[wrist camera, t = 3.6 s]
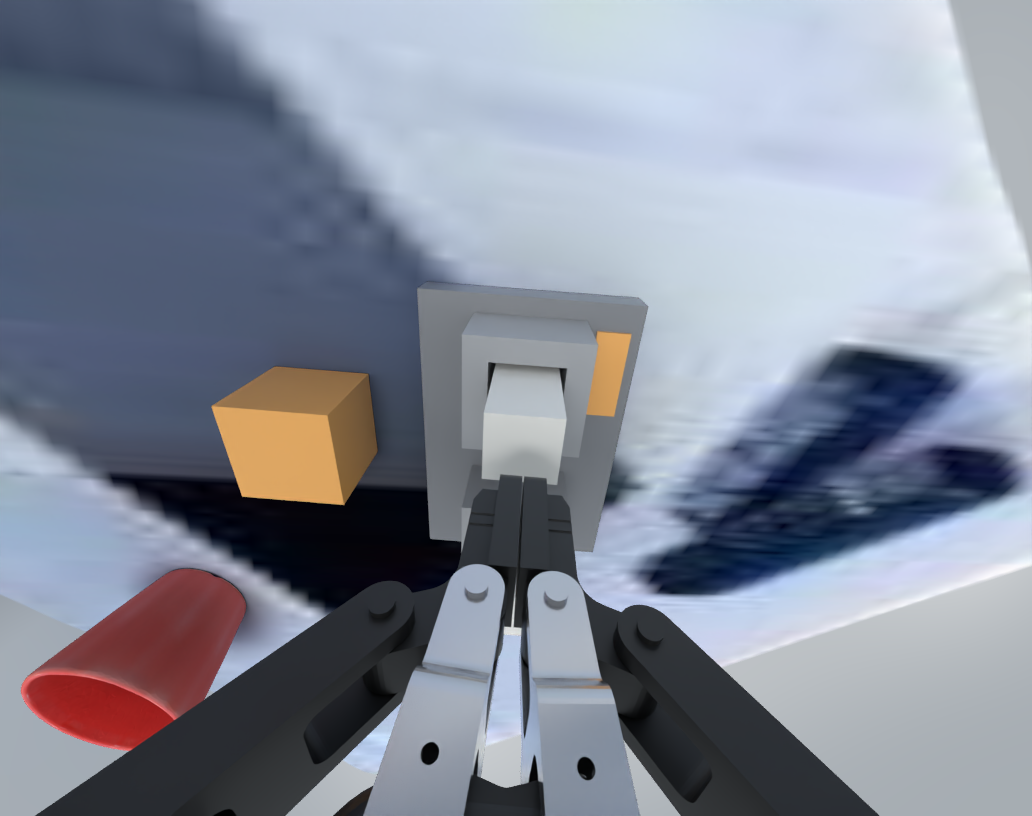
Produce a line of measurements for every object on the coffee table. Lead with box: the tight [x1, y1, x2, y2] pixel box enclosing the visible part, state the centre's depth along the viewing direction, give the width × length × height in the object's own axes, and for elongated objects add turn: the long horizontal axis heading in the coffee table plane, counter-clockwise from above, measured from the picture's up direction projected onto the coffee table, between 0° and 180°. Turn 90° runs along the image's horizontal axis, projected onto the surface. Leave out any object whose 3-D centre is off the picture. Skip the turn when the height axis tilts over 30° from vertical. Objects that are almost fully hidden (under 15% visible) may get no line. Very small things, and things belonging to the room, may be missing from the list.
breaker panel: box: [417, 281, 648, 552], centre depth 23 cm, size 18×12×6 cm, turn 176°
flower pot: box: [21, 569, 246, 751], centre depth 32 cm, size 11×11×10 cm
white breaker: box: [482, 363, 567, 485], centre depth 17 cm, size 3×3×6 cm
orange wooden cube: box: [211, 366, 378, 505], centre depth 24 cm, size 6×6×6 cm
